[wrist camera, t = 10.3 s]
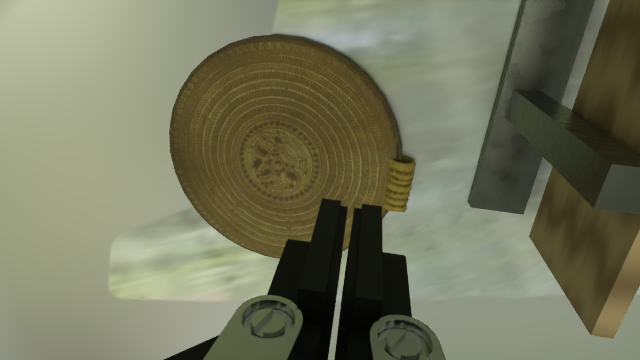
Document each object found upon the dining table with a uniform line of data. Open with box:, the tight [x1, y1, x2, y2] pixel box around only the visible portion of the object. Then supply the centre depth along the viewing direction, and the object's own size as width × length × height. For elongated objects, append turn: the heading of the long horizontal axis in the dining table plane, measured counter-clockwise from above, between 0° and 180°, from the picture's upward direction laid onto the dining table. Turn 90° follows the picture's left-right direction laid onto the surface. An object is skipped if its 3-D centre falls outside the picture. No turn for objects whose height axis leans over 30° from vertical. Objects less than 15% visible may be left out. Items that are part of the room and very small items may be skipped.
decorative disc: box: [169, 35, 416, 258], centre depth 51 cm, size 29×3×30 cm
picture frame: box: [529, 0, 640, 338], centre depth 33 cm, size 24×2×14 cm, turn 175°
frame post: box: [468, 0, 640, 215], centre depth 36 cm, size 25×6×22 cm, turn 175°
